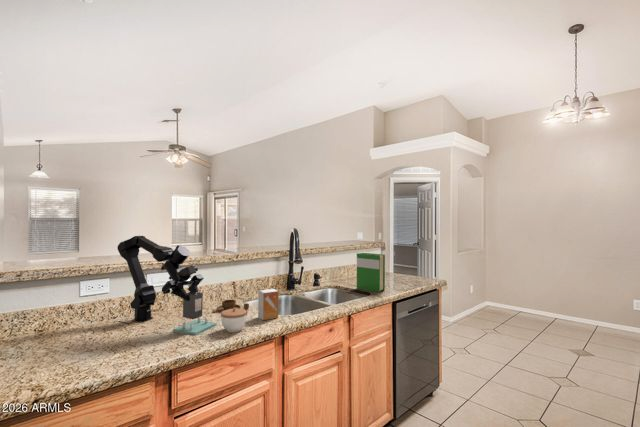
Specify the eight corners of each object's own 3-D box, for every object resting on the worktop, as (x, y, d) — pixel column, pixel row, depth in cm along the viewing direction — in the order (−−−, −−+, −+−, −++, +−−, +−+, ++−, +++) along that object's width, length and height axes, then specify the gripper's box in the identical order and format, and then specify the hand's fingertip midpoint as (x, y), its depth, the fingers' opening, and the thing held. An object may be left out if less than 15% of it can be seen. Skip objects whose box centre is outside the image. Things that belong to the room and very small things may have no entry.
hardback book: (384, 290, 217) (384, 254, 217) (379, 292, 211) (379, 255, 211) (362, 286, 228) (362, 252, 228) (356, 288, 222) (356, 253, 223)
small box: (263, 320, 152) (263, 292, 152) (257, 317, 157) (258, 290, 157) (278, 317, 156) (278, 290, 156) (273, 314, 161) (273, 288, 162)
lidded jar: (251, 329, 140) (251, 307, 140) (229, 336, 132) (230, 313, 132) (237, 324, 147) (237, 303, 147) (216, 330, 139) (216, 308, 139)
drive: (182, 317, 138) (183, 293, 138) (191, 314, 142) (192, 291, 142) (193, 319, 135) (194, 295, 135) (202, 316, 140) (202, 292, 140)
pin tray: (173, 331, 137) (173, 323, 137) (194, 322, 149) (194, 314, 149) (195, 335, 133) (196, 326, 133) (216, 325, 145) (216, 317, 145)
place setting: (244, 305, 179) (244, 295, 179) (250, 316, 160) (250, 304, 160) (210, 309, 172) (211, 298, 172) (213, 320, 153) (213, 308, 154)
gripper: (167, 261, 133) (186, 291, 128) (201, 256, 150) (219, 283, 145) (153, 279, 136) (171, 309, 131) (188, 272, 153) (205, 298, 148)
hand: (193, 299), depth 139 cm, fingers closed on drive, 5 cm apart
